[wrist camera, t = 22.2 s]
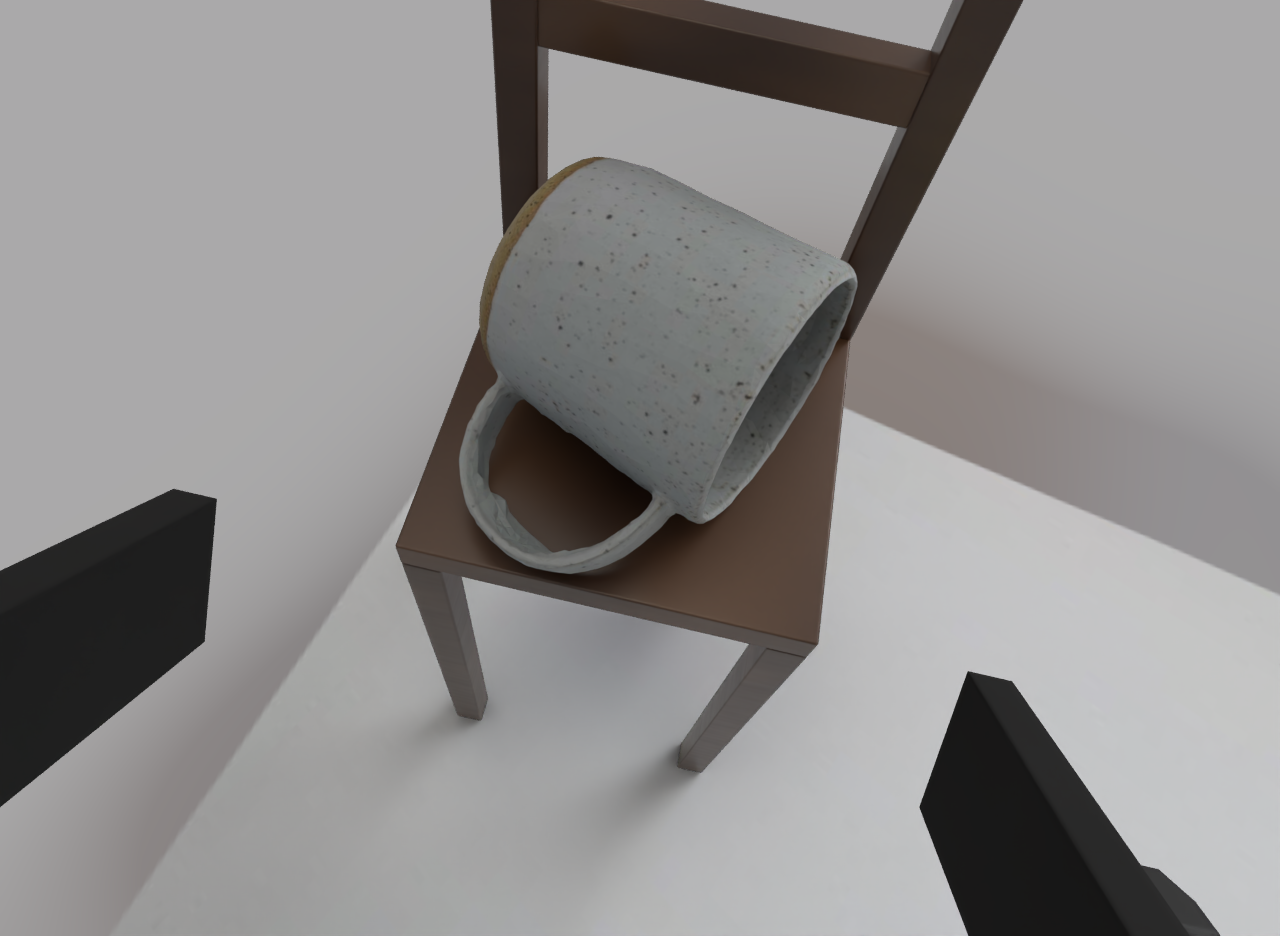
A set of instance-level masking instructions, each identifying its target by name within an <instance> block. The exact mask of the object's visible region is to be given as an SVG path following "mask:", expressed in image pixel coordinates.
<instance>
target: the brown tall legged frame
mask: <svg viewBox="0 0 1280 936" xmlns="http://www.w3.org/2000/svg"><path fill="white" fill-rule="evenodd" d="M1022 2H1023V0H953V1H952V3H951V5H950V8H949V10H948V12H947V15H946V17H945V19H944V21H943V24H942V26H941V28H940V31H939V33H938V35H937V38H936V40H935V42H934V45H933V47H932V49H931V51H930V50H925V49H920V48H916V47H911V46H907V45H902V44H898V43H893V42H889V41H885V40H880V39H876V38H871V37H867V36H862V35H857V34H853V33H849V32H844V31H840V30H835V29H831V28H826V27H822V26H817V25H813V24H808V23H803V22H799V21H795V20H790V19H786V18H781V17H777V16H772V15H768V14H763V13H759V12H754V11H750V10H745V9H741V8H736V7H732V6H727V5H723V4H718V3H714V2H709V1H705V0H491V20H492V38H493V56H494V74H495V92H496V111H497V129H498V147H499V166H500V184H501V201H502V219H503V236H504V234H505V233H506V231H507V229H508V227H509V226H510V224H511V223H512V222H513V220H514V219H515V217H516V216H517V214H518V213H519V211H520V210H521V208H522V207H523V206H524V204H525V203H526V202H527V201H528V199H529V198H530V197H531V196H532V195H533V194H534V193H535V192H536V191H537V190H538V189H539V188H540V187H541V186H542V185H543V184H544V183H545V182H546V181H547V180H548V179H547V178H548V173H547V172H548V49H553V50H557V51H562V52H566V53H570V54H575V55H579V56H584V57H588V58H593V59H597V60H602V61H606V62H611V63H615V64H620V65H625V66H629V67H633V68H637V69H642V70H647V71H651V72H655V73H660V74H665V75H669V76H673V77H678V78H682V79H687V80H691V81H696V82H700V83H705V84H709V85H714V86H718V87H722V88H727V89H731V90H736V91H740V92H745V93H749V94H754V95H758V96H763V97H767V98H771V99H776V100H780V101H785V102H789V103H794V104H798V105H803V106H807V107H812V108H816V109H821V110H825V111H830V112H835V113H838V114H843V115H848V116H852V117H856V118H861V119H865V120H870V121H874V122H879V123H883V124H888V125H892V126H897V127H898V128H897V130H896V132H895V134H894V137H893V139H892V141H891V144H890V146H889V149H888V151H887V153H886V155H885V157H884V160H883V162H882V165H881V167H880V169H879V172H878V174H877V176H876V178H875V181H874V183H873V185H872V187H871V190H870V192H869V194H868V197H867V199H866V201H865V204H864V206H863V208H862V211H861V213H860V215H859V218H858V220H857V222H856V225H855V227H854V229H853V232H852V234H851V237H850V238H849V241H848V243H847V245H846V248H845V250H844V252H843V254H842V257H841V259H840V260H842V261H844V262H846V263H848V264H849V265H850V266H851V267H852V268H853V269H854V271H855V274H856V277H857V289H856V293H855V296H854V300H853V304H852V306H851V309H850V311H849V314H848V316H847V319H846V322H845V325H844V327H843V329H842V331H841V333H840V337H839V339H838V340H837V342H836V344H835V346H834V349H833V352H832V354H831V356H830V358H829V359H828V361H827V363H826V364H825V366H824V368H823V371H822V373H821V375H820V378H819V380H818V381H817V383H816V384H815V386H814V388H813V389H812V391H811V392H810V394H809V396H808V397H807V399H806V401H805V403H804V404H803V406H802V408H801V409H800V411H799V412H798V414H797V415H796V417H795V418H794V420H793V421H792V423H791V424H790V426H789V428H788V429H787V431H786V433H785V434H784V436H783V438H782V439H781V440H780V441H779V442H778V444H777V446H776V448H775V450H774V451H773V452H772V453H771V454H770V455H769V457H768V458H767V460H766V461H765V462H764V464H763V465H762V466H761V468H760V469H759V471H758V472H757V473H756V475H755V476H754V477H753V479H752V480H751V481H750V482H749V483H748V484H747V485H746V486H745V487H744V488H743V489H742V490H741V492H740V493H739V494H738V495H737V496H736V497H735V499H734V500H733V502H732V503H731V504H730V505H729V506H728V507H727V508H726V509H725V510H724V511H722V512H721V513H720V514H718V515H717V516H716V517H715V518H713V519H712V520H710V521H707V522H705V523H704V524H697V523H695V522H692V521H690V520H688V519H687V518H686V517H684V516H682V515H681V514H678V513H676V514H674V515H672V516H671V517H669V519H668V520H667V521H666V522H665V523H664V525H663V526H662V527H661V528H660V529H659V530H658V531H657V532H655V533H654V534H653V535H652V536H651V537H650V538H648V539H647V540H646V541H645V542H644V543H643V544H641V545H640V546H639V547H638V548H636V549H635V550H633V551H632V552H630V553H629V554H628V555H626V556H625V557H623V558H621V559H619V560H617V561H615V562H613V563H611V564H609V565H606V566H604V567H601V568H598V569H594V570H590V571H586V572H579V573H572V574H567V573H558V572H551V571H546V570H541V569H536V568H533V567H529V566H526V565H524V564H522V563H521V562H519V561H517V560H515V559H514V558H512V557H510V556H509V555H507V554H506V553H505V552H503V551H502V550H501V549H500V548H499V547H498V546H497V545H496V544H494V543H493V542H492V541H491V540H490V539H489V538H488V536H487V535H486V534H485V533H484V531H483V530H482V529H481V528H480V527H479V526H478V525H477V524H476V521H475V519H474V517H473V516H472V515H471V514H470V512H469V509H468V507H467V505H466V502H465V498H464V494H463V489H462V485H461V479H460V468H459V457H460V450H461V446H462V443H463V439H464V436H465V432H466V428H467V425H468V423H469V421H470V419H471V418H472V416H473V414H474V412H475V409H476V407H477V405H478V404H479V402H480V401H481V400H482V399H483V397H484V396H485V394H486V392H487V390H488V389H490V388H491V387H492V386H493V385H495V383H496V381H497V379H498V375H497V372H496V371H495V369H494V368H493V366H492V365H491V364H490V362H489V360H488V358H487V356H486V354H485V351H484V348H483V345H482V339H481V332H480V328H479V330H478V333H477V336H476V338H475V341H474V343H473V346H472V349H471V351H470V354H469V356H468V359H467V361H466V364H465V367H464V370H463V372H462V374H461V377H460V380H459V382H458V385H457V387H456V390H455V393H454V395H453V398H452V400H451V404H450V406H449V408H448V411H447V413H446V416H445V419H444V421H443V424H442V426H441V429H440V432H439V434H438V437H437V439H436V442H435V444H434V447H433V450H432V453H431V455H430V457H429V460H428V463H427V466H426V468H425V471H424V473H423V476H422V478H421V481H420V483H419V486H418V489H417V491H416V494H415V496H414V499H413V502H412V504H411V507H410V509H409V512H408V515H407V517H406V520H405V522H404V525H403V528H402V530H401V533H400V535H399V538H398V541H397V543H396V549H397V552H398V554H399V557H400V560H401V562H402V564H403V567H404V570H405V573H406V575H407V578H408V581H409V583H410V586H411V589H412V592H413V594H414V597H415V600H416V603H417V605H418V608H419V611H420V614H421V616H422V619H423V622H424V625H425V627H426V630H427V633H428V635H429V638H430V641H431V644H432V646H433V649H434V652H435V655H436V657H437V660H438V663H439V666H440V668H441V671H442V674H443V677H444V679H445V682H446V685H447V687H448V690H449V693H450V696H451V698H452V701H453V704H454V707H455V709H456V712H457V715H458V716H462V717H467V718H471V719H475V720H481V719H482V716H483V713H484V710H485V706H486V703H487V700H488V696H487V691H486V687H485V682H484V677H483V673H482V668H481V664H480V659H479V654H478V650H477V645H476V641H475V636H474V632H473V627H472V622H471V618H470V613H469V609H468V604H467V599H466V595H465V590H464V586H463V581H462V577H465V578H470V579H474V580H478V581H483V582H487V583H491V584H495V585H500V586H504V587H508V588H513V589H517V590H521V591H525V592H530V593H534V594H538V595H543V596H547V597H551V598H555V599H560V600H564V601H568V602H573V603H577V604H581V605H585V606H590V607H594V608H598V609H603V610H607V611H611V612H615V613H620V614H624V615H628V616H633V617H637V618H641V619H645V620H650V621H654V622H658V623H663V624H667V625H671V626H675V627H680V628H684V629H688V630H693V631H697V632H701V633H705V634H710V635H714V636H718V637H723V638H727V639H731V640H735V641H740V642H744V643H748V644H749V645H748V646H747V648H746V649H745V651H744V652H743V654H742V655H741V657H740V658H739V660H738V661H737V662H736V664H735V665H734V667H733V668H732V670H731V671H730V673H729V674H728V676H727V677H726V679H725V680H724V681H723V683H722V684H721V686H720V687H719V689H718V690H717V692H716V693H715V695H714V696H713V698H712V699H711V701H710V702H709V703H708V705H707V706H706V708H705V709H704V711H703V712H702V714H701V715H700V717H699V718H698V720H697V721H696V723H695V724H694V725H693V727H692V728H691V730H690V731H689V733H688V734H687V736H686V737H685V739H684V740H683V742H682V743H681V748H680V754H679V759H678V765H677V767H678V768H682V769H687V770H691V771H695V772H699V773H701V772H702V771H703V770H704V769H705V768H706V767H707V766H708V765H709V764H710V763H711V761H712V760H713V759H714V758H715V757H716V756H717V755H718V754H719V753H720V752H721V750H722V749H723V748H724V747H725V746H726V745H727V744H728V743H729V742H730V741H731V740H732V738H733V737H734V736H735V735H736V734H737V733H738V732H739V731H740V730H741V729H742V727H743V726H744V725H745V724H746V723H747V722H748V721H749V720H750V719H751V718H752V717H753V715H754V714H755V713H756V712H757V711H758V710H759V709H760V708H761V707H762V706H763V704H764V703H765V702H766V701H767V700H768V699H769V698H770V697H771V696H772V695H773V693H774V692H775V691H776V690H777V689H778V688H779V687H780V686H781V685H782V684H783V683H784V681H785V680H786V679H787V678H788V677H789V676H790V675H791V674H792V673H793V672H794V670H795V669H796V668H797V667H798V666H799V665H800V664H801V663H802V662H803V661H804V660H805V658H806V657H807V656H808V655H809V654H810V653H811V652H812V651H813V649H814V648H815V647H816V646H817V645H818V642H819V632H820V623H821V613H822V604H823V594H824V585H825V575H826V566H827V556H828V547H829V537H830V528H831V519H832V509H833V500H834V490H835V481H836V471H837V462H838V452H839V443H840V433H841V424H842V414H843V405H844V395H845V386H846V377H847V367H848V357H849V348H850V340H851V338H852V336H853V335H854V333H855V331H856V329H857V327H858V325H859V323H860V321H861V319H862V317H863V315H864V313H865V311H866V309H867V307H868V305H869V303H870V301H871V299H872V297H873V295H874V293H875V291H876V289H877V287H878V285H879V283H880V281H881V279H882V277H883V275H884V273H885V272H886V270H887V267H888V266H889V264H890V262H891V260H892V258H893V256H894V254H895V252H896V250H897V248H898V246H899V244H900V242H901V240H902V238H903V236H904V234H905V232H906V230H907V228H908V226H909V224H910V222H911V220H912V218H913V216H914V214H915V213H916V211H917V209H918V206H919V205H920V203H921V201H922V199H923V197H924V195H925V193H926V191H927V189H928V187H929V185H930V183H931V181H932V179H933V177H934V175H935V173H936V171H937V169H938V167H939V165H940V163H941V161H942V159H943V157H944V155H945V153H946V152H947V150H948V147H949V146H950V144H951V142H952V140H953V138H954V136H955V134H956V132H957V130H958V128H959V126H960V124H961V122H962V120H963V118H964V116H965V114H966V112H967V110H968V108H969V106H970V104H971V102H972V100H973V98H974V96H975V94H976V92H977V90H978V89H979V87H980V84H981V82H982V81H983V79H984V77H985V75H986V72H987V71H988V69H989V67H990V65H991V63H992V61H993V59H994V57H995V55H996V53H997V51H998V49H999V47H1000V45H1001V43H1002V41H1003V39H1004V37H1005V35H1006V33H1007V31H1008V30H1009V28H1010V26H1011V23H1012V21H1013V20H1014V18H1015V16H1016V14H1017V12H1018V10H1019V8H1020V6H1021V4H1022ZM489 488H490V491H491V492H492V493H494V494H497V495H499V496H500V497H502V498H503V499H505V500H506V502H507V505H508V509H509V512H510V513H511V514H512V515H513V516H514V518H515V519H516V520H517V521H518V522H519V523H520V524H521V525H522V526H523V527H524V528H525V529H526V530H527V531H528V532H529V533H530V534H531V535H532V536H533V537H535V538H536V539H537V540H538V541H539V542H540V543H542V544H543V545H544V546H545V547H546V548H547V549H548V550H549V551H551V552H553V553H555V552H559V551H563V550H567V551H572V550H576V549H580V548H586V547H591V546H593V545H596V544H598V543H601V542H603V541H605V540H606V539H608V538H609V537H611V536H612V535H614V534H615V533H617V532H618V531H620V530H621V529H623V528H624V527H626V526H627V525H628V524H629V523H630V522H631V521H633V520H635V519H636V518H638V517H639V516H640V515H641V514H642V513H643V512H644V511H645V510H646V509H647V508H648V506H649V504H650V503H651V501H652V500H653V497H652V494H651V493H650V492H649V491H647V490H646V489H644V488H643V487H641V486H640V485H638V484H637V483H635V482H634V481H633V480H632V479H631V478H630V477H628V476H627V475H626V474H624V473H622V472H620V471H619V470H618V469H616V468H615V467H614V466H613V465H611V464H610V463H609V462H608V461H607V460H606V459H604V458H603V457H602V456H600V455H599V454H598V453H597V452H596V451H594V450H593V449H592V448H591V447H589V446H588V445H587V444H585V443H584V442H583V441H582V440H580V439H579V438H577V437H576V436H575V435H573V434H572V433H568V432H566V431H565V430H563V429H562V428H561V427H560V426H559V425H557V424H556V423H555V422H554V421H552V420H550V419H549V418H548V417H546V416H545V415H542V414H541V413H540V412H539V411H538V410H537V409H536V408H535V407H534V406H532V405H531V404H530V403H528V402H527V401H526V400H525V399H523V400H520V401H519V402H518V403H517V404H516V405H515V407H514V408H513V410H512V411H511V412H510V414H509V415H508V417H507V418H506V420H505V422H504V425H503V427H502V428H501V430H500V432H499V434H498V435H497V437H496V442H495V446H494V448H493V450H492V451H491V455H490V459H489Z"/></svg>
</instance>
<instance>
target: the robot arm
mask: <svg viewBox="0 0 1280 936" xmlns="http://www.w3.org/2000/svg"><path fill="white" fill-rule="evenodd" d="M216 502H217V499H215V498H211V497H206V496H202V495H198V494H193V493H189V492H184V491H180V490H176V489H172V490H170V491H168V492H166V493H164V494H162V495H160V496H157V497H155V498H153V499H151V500H149V501H147V502H145V503H143V504H140V505H138V506H136V507H134V508H132V509H130V510H128V511H126V512H124V513H121V514H119V515H117V516H116V517H113V518H111V519H109V520H107V521H105V522H102V523H100V524H98V525H96V526H95V527H92V528H90V529H88V530H86V531H83V532H81V533H79V534H77V535H75V536H73V537H71V538H69V539H66V540H64V541H62V542H60V543H58V544H56V545H54V546H52V547H50V548H47V549H45V550H43V551H41V552H39V553H37V554H35V555H33V556H31V557H28V558H26V559H24V560H22V561H20V562H18V563H16V564H14V565H12V566H10V567H8V568H5V569H3V570H1V571H0V807H1V806H2V805H3V804H4V803H6V802H7V801H8V800H10V799H11V798H12V797H13V796H15V795H16V794H17V793H18V792H19V791H21V790H22V789H23V788H24V787H25V786H27V785H28V784H29V783H31V782H32V781H33V780H34V779H35V778H37V777H38V776H39V775H40V774H42V773H43V772H44V771H45V770H47V769H48V768H49V767H50V766H52V765H53V764H54V763H55V762H57V761H58V760H59V759H60V758H61V757H63V756H64V755H65V754H66V753H68V752H69V751H70V750H71V749H73V748H74V747H75V746H76V745H78V744H79V743H80V742H81V741H82V740H84V739H85V738H86V737H87V736H89V735H90V734H91V733H92V732H94V731H95V730H96V729H97V728H99V727H100V726H101V725H102V724H103V723H105V722H106V721H107V720H108V719H110V718H111V717H112V716H113V715H115V714H116V713H117V712H118V711H120V710H121V709H122V708H123V707H124V706H126V705H127V704H128V703H129V702H131V701H132V700H133V699H134V698H135V697H137V696H138V695H139V694H140V693H141V692H143V691H144V690H145V689H147V688H148V687H149V686H150V685H152V684H153V683H154V682H155V681H157V680H158V679H159V678H160V677H162V675H164V674H165V673H166V672H168V671H169V670H170V669H171V668H173V667H174V666H175V665H176V664H177V663H179V662H180V661H181V660H182V659H184V658H185V657H186V656H187V655H189V654H190V653H191V652H192V651H194V649H196V648H197V647H199V646H200V645H201V644H202V643H203V642H204V641H205V630H206V618H207V607H208V606H207V605H208V595H209V584H210V571H211V560H212V549H213V548H212V547H213V537H214V536H213V535H214V525H215V514H216ZM920 810H921V813H922V815H923V818H924V821H925V823H926V826H927V828H928V831H929V834H930V836H931V839H932V842H933V844H934V847H935V849H936V852H937V855H938V857H939V860H940V863H941V865H942V868H943V870H944V873H945V876H946V878H947V881H948V883H949V886H950V889H951V891H952V894H953V897H954V899H955V902H956V904H957V907H958V910H959V912H960V915H961V918H962V920H963V923H964V925H965V928H966V931H967V933H968V936H1220V934H1219V933H1218V932H1217V930H1216V929H1215V928H1214V926H1213V925H1212V923H1211V922H1210V921H1209V919H1208V918H1207V917H1206V915H1205V914H1204V913H1203V911H1202V910H1201V909H1200V907H1199V906H1198V905H1197V903H1196V902H1195V901H1194V900H1193V899H1192V898H1191V897H1189V896H1188V895H1187V894H1186V893H1185V892H1184V891H1183V890H1181V889H1180V888H1179V887H1178V886H1177V885H1176V884H1175V883H1174V882H1172V881H1171V880H1170V879H1169V878H1168V877H1167V876H1166V875H1164V874H1163V873H1162V872H1161V871H1160V870H1159V869H1154V868H1150V867H1146V866H1141V865H1140V863H1139V862H1138V861H1137V859H1136V858H1135V856H1134V855H1133V853H1132V852H1131V851H1130V849H1129V848H1128V846H1127V845H1126V843H1125V842H1124V841H1123V839H1122V838H1121V836H1120V835H1119V833H1118V832H1117V831H1116V829H1115V828H1114V826H1113V825H1112V823H1111V822H1110V821H1109V819H1108V818H1107V816H1106V815H1105V813H1104V812H1103V811H1102V809H1101V808H1100V806H1099V805H1098V803H1097V802H1096V801H1095V799H1094V798H1093V796H1092V795H1091V793H1090V792H1089V791H1088V789H1087V788H1086V786H1085V785H1084V783H1083V782H1082V781H1081V779H1080V778H1079V776H1078V775H1077V773H1076V772H1075V771H1074V769H1073V768H1072V766H1071V765H1070V763H1069V762H1068V761H1067V759H1066V758H1065V756H1064V755H1063V753H1062V752H1061V751H1060V749H1059V748H1058V746H1057V745H1056V743H1055V742H1054V741H1053V739H1052V738H1051V736H1050V735H1049V733H1048V732H1047V731H1046V729H1045V728H1044V726H1043V725H1042V723H1041V722H1040V721H1039V719H1038V718H1037V716H1036V715H1035V713H1034V712H1033V711H1032V709H1031V708H1030V706H1029V705H1028V703H1027V702H1026V701H1025V699H1024V698H1023V696H1022V695H1021V693H1020V692H1019V690H1018V689H1017V688H1016V686H1015V685H1014V683H1013V682H1012V681H1008V680H1004V679H999V678H995V677H991V676H986V675H982V674H978V673H973V672H969V671H968V672H967V675H966V678H965V681H964V683H963V686H962V689H961V692H960V695H959V697H958V700H957V703H956V706H955V709H954V711H953V714H952V717H951V720H950V723H949V726H948V728H947V731H946V734H945V737H944V740H943V742H942V745H941V748H940V751H939V754H938V756H937V759H936V762H935V765H934V768H933V770H932V773H931V776H930V779H929V782H928V784H927V787H926V790H925V793H924V796H923V798H922V801H921V804H920Z"/></svg>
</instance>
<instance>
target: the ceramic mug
mask: <svg viewBox="0 0 1280 936" xmlns="http://www.w3.org/2000/svg"><path fill="white" fill-rule="evenodd" d="M856 289H857V277H856V274H855V271H854V269H853V268H852V267H851V266H850V265H849V264H848V263H846V262H844V261H842V260H840V259H838V258H836V257H834V256H832V255H830V254H828V253H826V252H823V251H821V250H819V249H817V248H815V247H812V246H810V245H808V244H806V243H803V242H801V241H799V240H797V239H795V238H793V237H791V236H789V235H786V234H784V233H782V232H780V231H778V230H776V229H774V228H772V227H770V226H768V225H766V224H764V223H762V222H760V221H758V220H756V219H754V218H752V217H750V216H749V215H747V214H745V213H743V212H740V211H738V210H736V209H734V208H732V207H729V206H727V205H725V204H723V203H721V202H718V201H716V200H714V199H712V198H710V197H708V196H706V195H704V194H702V193H700V192H698V191H696V190H694V189H692V188H690V187H689V186H687V185H685V184H683V183H681V182H679V181H677V180H675V179H672V178H670V177H668V176H666V175H664V174H662V173H660V172H658V171H655V170H654V169H651V168H647V167H644V166H640V165H636V164H632V163H628V162H625V161H621V160H617V159H611V158H604V157H593V158H588V159H583V160H581V161H578V162H576V163H574V164H572V165H570V166H568V167H566V168H564V169H563V170H561V171H560V172H558V173H557V174H556V175H554V176H553V177H551V178H550V179H548V180H547V181H546V182H545V183H544V184H543V185H542V186H541V187H540V188H539V189H538V190H537V191H536V192H535V193H534V194H533V195H532V196H531V197H530V198H529V199H528V201H527V202H526V203H525V204H524V206H523V207H522V208H521V210H520V211H519V213H518V214H517V216H516V217H515V219H514V220H513V222H512V223H511V224H510V226H509V227H508V229H507V231H506V233H505V234H504V236H503V238H502V240H501V242H500V243H499V246H498V248H497V250H496V252H495V255H494V256H493V259H492V261H491V263H490V266H489V270H488V273H487V276H486V279H485V283H484V287H483V292H482V296H481V301H480V318H479V324H480V332H481V339H482V345H483V348H484V351H485V354H486V356H487V358H488V360H489V362H490V364H491V365H492V366H493V368H494V369H495V371H496V372H497V375H498V379H497V381H496V383H495V385H493V386H492V387H491V388H490V389H488V390H487V392H486V394H485V396H484V397H483V399H482V400H481V401H480V402H479V404H478V405H477V407H476V409H475V412H474V414H473V416H472V418H471V419H470V421H469V423H468V425H467V428H466V432H465V436H464V439H463V443H462V446H461V450H460V457H459V468H460V479H461V485H462V489H463V494H464V498H465V502H466V505H467V507H468V509H469V512H470V514H471V515H472V516H473V517H474V519H475V521H476V524H477V525H478V526H479V527H480V528H481V529H482V530H483V531H484V533H485V534H486V535H487V536H488V538H489V539H490V540H491V541H492V542H493V543H494V544H496V545H497V546H498V547H499V548H500V549H501V550H502V551H503V552H505V553H506V554H507V555H509V556H510V557H512V558H514V559H515V560H517V561H519V562H521V563H522V564H524V565H526V566H529V567H533V568H536V569H541V570H546V571H551V572H558V573H567V574H572V573H579V572H586V571H590V570H594V569H598V568H601V567H604V566H606V565H609V564H611V563H613V562H615V561H617V560H619V559H621V558H623V557H625V556H626V555H628V554H629V553H630V552H632V551H633V550H635V549H636V548H638V547H639V546H640V545H641V544H643V543H644V542H645V541H646V540H647V539H648V538H650V537H651V536H652V535H653V534H654V533H655V532H657V531H658V530H659V529H660V528H661V527H662V526H663V525H664V523H665V522H666V521H667V520H668V519H669V517H671V516H672V515H674V514H676V513H678V514H681V515H682V516H684V517H686V518H687V519H688V520H690V521H692V522H695V523H697V524H704V523H705V522H707V521H710V520H712V519H713V518H715V517H716V516H717V515H718V514H720V513H721V512H722V511H724V510H725V509H726V508H727V507H728V506H729V505H730V504H731V503H732V502H733V500H734V499H735V497H736V496H737V495H738V494H739V493H740V492H741V490H742V489H743V488H744V487H745V486H746V485H747V484H748V483H749V482H750V481H751V480H752V479H753V477H754V476H755V475H756V473H757V472H758V471H759V469H760V468H761V466H762V465H763V464H764V462H765V461H766V460H767V458H768V457H769V455H770V454H771V453H772V452H773V451H774V450H775V448H776V446H777V444H778V442H779V441H780V440H781V439H782V438H783V436H784V434H785V433H786V431H787V429H788V428H789V426H790V424H791V423H792V421H793V420H794V418H795V417H796V415H797V414H798V412H799V411H800V409H801V408H802V406H803V404H804V403H805V401H806V399H807V397H808V396H809V394H810V392H811V391H812V389H813V388H814V386H815V384H816V383H817V381H818V380H819V378H820V375H821V373H822V371H823V368H824V366H825V364H826V363H827V361H828V359H829V358H830V356H831V354H832V352H833V349H834V346H835V344H836V342H837V340H838V339H839V337H840V333H841V331H842V329H843V327H844V325H845V322H846V319H847V316H848V314H849V311H850V309H851V306H852V304H853V300H854V296H855V293H856ZM523 399H525V400H526V401H527V402H528V403H530V404H531V405H532V406H534V407H535V408H536V409H537V410H538V411H539V412H540V413H541V414H542V415H545V416H546V417H548V418H549V419H550V420H552V421H554V422H555V423H556V424H557V425H559V426H560V427H561V428H562V429H563V430H565V431H566V432H568V433H572V434H573V435H575V436H576V437H577V438H579V439H580V440H582V441H583V442H584V443H585V444H587V445H588V446H589V447H591V448H592V449H593V450H594V451H596V452H597V453H598V454H599V455H600V456H602V457H603V458H604V459H606V460H607V461H608V462H609V463H610V464H611V465H613V466H614V467H615V468H616V469H618V470H619V471H620V472H622V473H624V474H626V475H627V476H628V477H630V478H631V479H632V480H633V481H634V482H635V483H637V484H638V485H640V486H641V487H643V488H644V489H646V490H647V491H649V492H650V493H651V494H652V497H653V500H652V501H651V503H650V504H649V506H648V508H647V509H646V510H645V511H644V512H643V513H642V514H641V515H640V516H639V517H638V518H636V519H635V520H633V521H631V522H630V523H629V524H628V525H627V526H626V527H624V528H623V529H621V530H620V531H618V532H617V533H615V534H614V535H612V536H611V537H609V538H608V539H606V540H605V541H603V542H601V543H598V544H596V545H593V546H591V547H586V548H580V549H576V550H572V551H567V550H563V551H559V552H555V553H553V552H551V551H549V550H548V549H547V548H546V547H545V546H544V545H543V544H542V543H540V542H539V541H538V540H537V539H536V538H535V537H533V536H532V535H531V534H530V533H529V532H528V531H527V530H526V529H525V528H524V527H523V526H522V525H521V524H520V523H519V522H518V521H517V520H516V519H515V518H514V516H513V515H512V514H511V513H510V512H509V509H508V505H507V502H506V500H505V499H503V498H502V497H500V496H499V495H497V494H494V493H492V492H491V491H490V488H489V459H490V455H491V451H492V450H493V448H494V446H495V442H496V437H497V435H498V434H499V432H500V430H501V428H502V427H503V425H504V422H505V420H506V418H507V417H508V415H509V414H510V412H511V411H512V410H513V408H514V407H515V405H516V404H517V403H518V402H519V401H520V400H523Z"/></svg>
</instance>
